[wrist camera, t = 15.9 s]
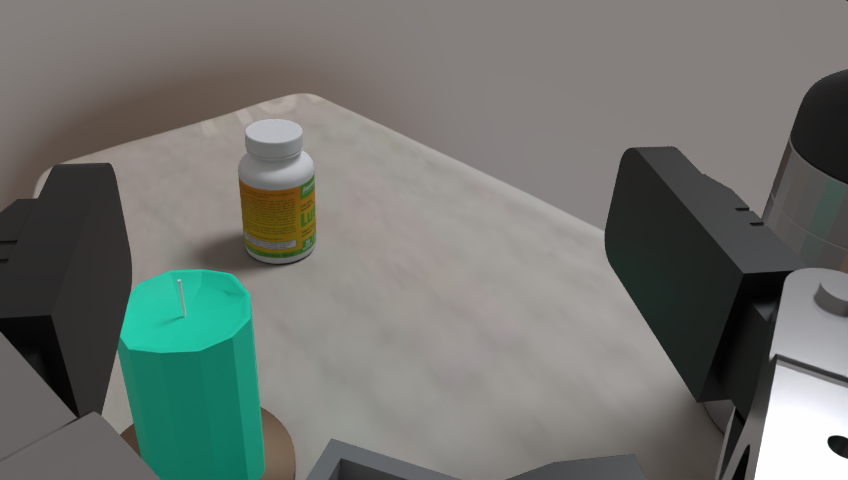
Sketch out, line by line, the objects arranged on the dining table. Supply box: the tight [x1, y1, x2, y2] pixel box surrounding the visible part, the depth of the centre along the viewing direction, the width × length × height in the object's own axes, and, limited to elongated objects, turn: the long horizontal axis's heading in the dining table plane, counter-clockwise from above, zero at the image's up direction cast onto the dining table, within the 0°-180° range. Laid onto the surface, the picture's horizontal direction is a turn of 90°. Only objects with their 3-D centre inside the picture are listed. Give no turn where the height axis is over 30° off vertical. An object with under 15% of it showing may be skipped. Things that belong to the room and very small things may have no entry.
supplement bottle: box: [238, 119, 316, 264], centre depth 56 cm, size 5×5×10 cm
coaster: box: [120, 407, 295, 480], centre depth 40 cm, size 10×10×1 cm
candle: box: [117, 269, 265, 480], centre depth 36 cm, size 6×6×12 cm
